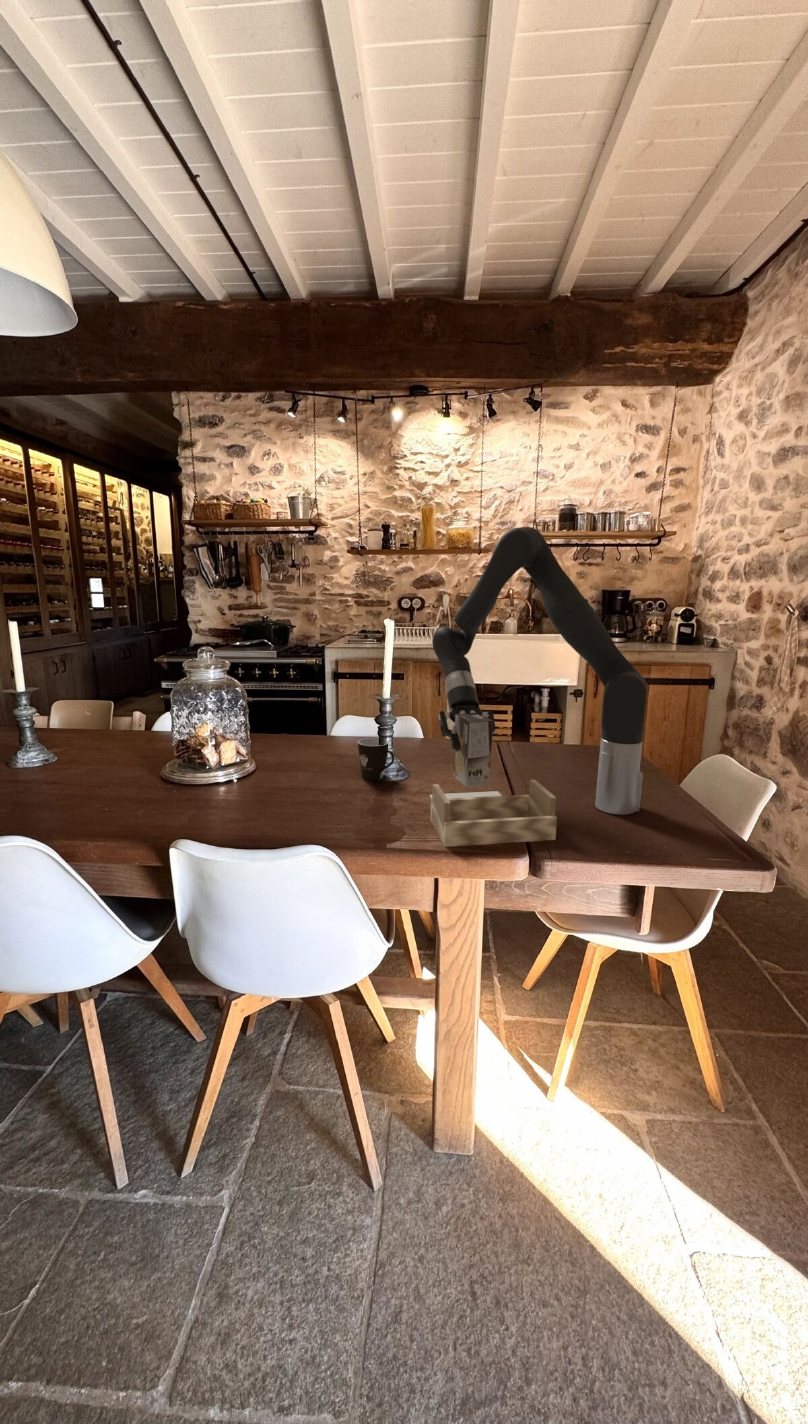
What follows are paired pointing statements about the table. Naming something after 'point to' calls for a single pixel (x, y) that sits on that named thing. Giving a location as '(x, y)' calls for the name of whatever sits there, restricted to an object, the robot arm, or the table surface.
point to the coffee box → (473, 749)
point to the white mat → (471, 794)
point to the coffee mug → (373, 758)
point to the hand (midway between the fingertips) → (472, 749)
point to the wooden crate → (494, 817)
